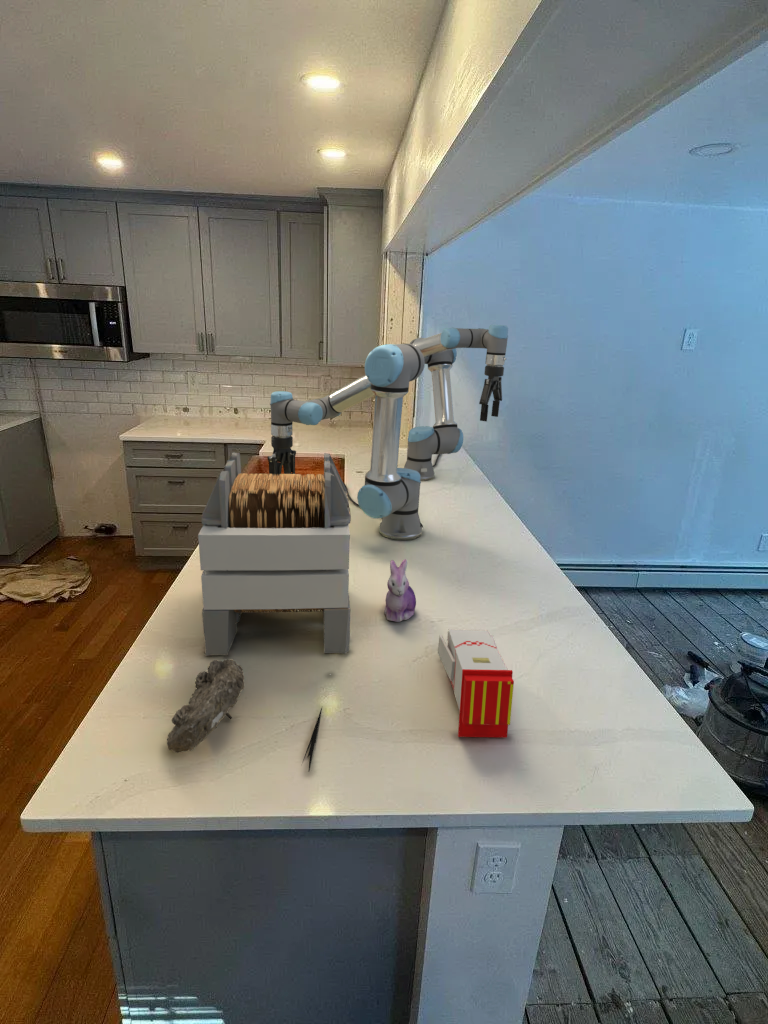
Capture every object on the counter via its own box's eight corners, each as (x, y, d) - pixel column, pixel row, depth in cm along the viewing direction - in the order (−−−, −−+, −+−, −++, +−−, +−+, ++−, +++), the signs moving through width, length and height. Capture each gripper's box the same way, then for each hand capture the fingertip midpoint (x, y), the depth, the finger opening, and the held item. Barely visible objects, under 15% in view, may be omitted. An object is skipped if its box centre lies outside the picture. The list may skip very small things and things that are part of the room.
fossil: (192, 660, 117) (244, 628, 112) (224, 691, 120) (276, 661, 115) (142, 746, 98) (202, 712, 93) (182, 779, 101) (242, 748, 96)
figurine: (392, 627, 141) (395, 572, 136) (374, 608, 149) (376, 556, 144) (425, 619, 145) (429, 566, 140) (405, 601, 154) (408, 550, 149)
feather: (331, 679, 122) (336, 673, 122) (307, 777, 96) (313, 769, 95) (324, 675, 122) (329, 669, 121) (298, 772, 95) (304, 764, 95)
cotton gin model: (226, 586, 157) (217, 442, 143) (344, 585, 161) (346, 445, 147) (202, 658, 125) (189, 482, 112) (350, 654, 129) (354, 483, 115)
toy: (488, 613, 130) (523, 677, 101) (484, 667, 133) (517, 744, 104) (435, 612, 130) (455, 676, 101) (432, 666, 133) (451, 743, 103)
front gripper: (274, 441, 193) (275, 506, 201) (305, 433, 207) (305, 494, 215) (257, 438, 196) (259, 502, 204) (289, 430, 210) (289, 490, 218)
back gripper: (493, 368, 214) (487, 424, 221) (513, 364, 235) (507, 415, 242) (474, 366, 217) (469, 421, 225) (496, 363, 238) (490, 413, 245)
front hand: (282, 497), depth 209 cm, fingers closed on box, 4 cm apart
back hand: (489, 418), depth 233 cm, fingers open, 13 cm apart
